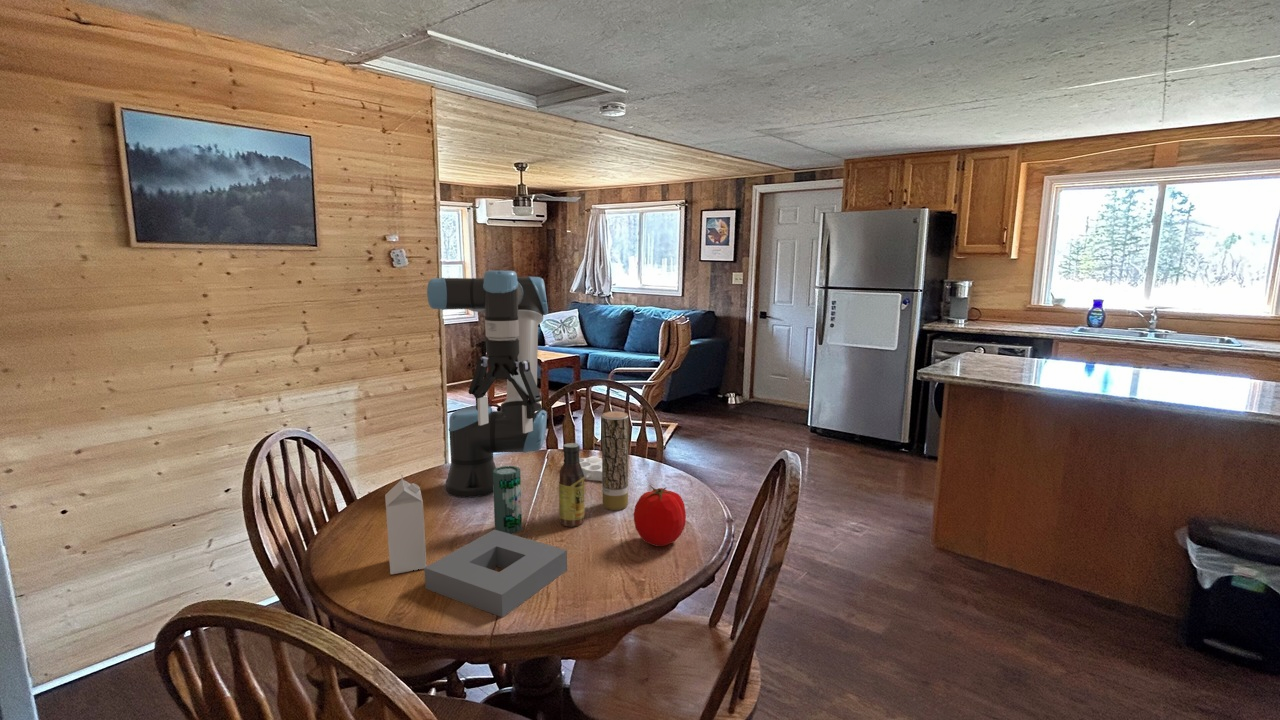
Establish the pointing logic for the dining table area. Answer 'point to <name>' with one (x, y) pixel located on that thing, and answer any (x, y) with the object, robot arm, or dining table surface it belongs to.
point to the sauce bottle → (571, 487)
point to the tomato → (659, 516)
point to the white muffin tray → (591, 468)
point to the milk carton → (405, 528)
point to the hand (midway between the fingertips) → (505, 428)
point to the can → (507, 499)
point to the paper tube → (615, 460)
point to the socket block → (490, 590)
